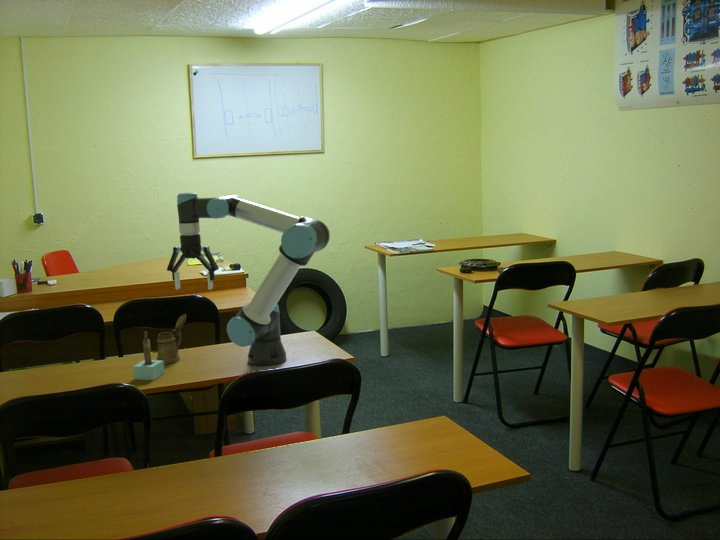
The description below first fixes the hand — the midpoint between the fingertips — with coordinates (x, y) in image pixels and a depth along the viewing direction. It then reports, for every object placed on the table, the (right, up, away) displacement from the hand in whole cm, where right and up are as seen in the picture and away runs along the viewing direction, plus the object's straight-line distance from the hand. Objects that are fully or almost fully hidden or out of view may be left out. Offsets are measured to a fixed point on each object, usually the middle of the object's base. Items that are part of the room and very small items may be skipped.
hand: (194, 289), depth 266 cm
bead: (-16, -33, -5) cm, 37 cm away
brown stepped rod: (-16, -33, -5) cm, 37 cm away
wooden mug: (-12, -29, +15) cm, 35 cm away
